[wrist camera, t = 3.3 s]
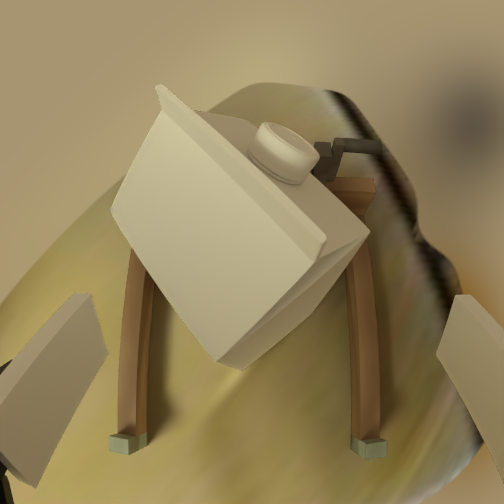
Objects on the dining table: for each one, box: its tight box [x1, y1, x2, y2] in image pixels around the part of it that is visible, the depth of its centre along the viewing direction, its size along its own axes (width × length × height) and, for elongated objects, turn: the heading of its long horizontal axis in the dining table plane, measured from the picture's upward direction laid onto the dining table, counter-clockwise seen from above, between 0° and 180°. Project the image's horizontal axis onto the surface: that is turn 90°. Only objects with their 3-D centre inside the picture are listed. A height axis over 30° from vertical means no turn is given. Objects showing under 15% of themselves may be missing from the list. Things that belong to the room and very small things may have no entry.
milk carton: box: [110, 84, 370, 371], centre depth 16 cm, size 7×7×19 cm
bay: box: [109, 138, 387, 460], centre depth 20 cm, size 19×21×11 cm
